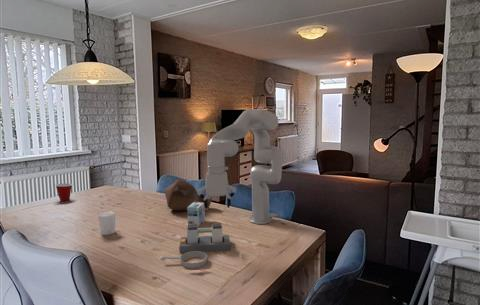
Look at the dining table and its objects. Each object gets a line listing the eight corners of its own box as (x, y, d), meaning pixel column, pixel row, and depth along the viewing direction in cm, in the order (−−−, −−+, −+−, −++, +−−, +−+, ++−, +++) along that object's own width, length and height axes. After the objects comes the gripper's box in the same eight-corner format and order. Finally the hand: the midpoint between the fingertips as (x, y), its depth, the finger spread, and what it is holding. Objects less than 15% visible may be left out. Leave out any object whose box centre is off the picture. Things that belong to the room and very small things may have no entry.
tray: (216, 232, 159) (216, 227, 159) (217, 240, 149) (216, 235, 148) (194, 233, 158) (194, 228, 158) (193, 241, 147) (193, 236, 147)
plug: (222, 243, 143) (221, 222, 141) (222, 248, 138) (222, 226, 137) (212, 244, 142) (211, 223, 141) (212, 248, 138) (211, 226, 136)
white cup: (119, 230, 163) (118, 212, 161) (108, 236, 155) (107, 217, 154) (107, 229, 165) (106, 211, 164) (96, 234, 158) (94, 215, 156)
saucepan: (206, 271, 120) (206, 262, 120) (159, 272, 119) (159, 263, 119) (208, 258, 131) (208, 249, 130) (165, 259, 130) (165, 250, 130)
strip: (229, 243, 146) (228, 233, 145) (230, 252, 136) (230, 242, 135) (181, 245, 143) (181, 236, 143) (179, 255, 134) (179, 245, 133)
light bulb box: (199, 227, 167) (198, 207, 166) (187, 226, 168) (186, 207, 167) (205, 220, 177) (204, 202, 176) (194, 219, 179) (193, 201, 177)
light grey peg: (198, 245, 141) (197, 223, 140) (197, 249, 137) (197, 227, 136) (188, 245, 141) (187, 224, 140) (187, 249, 136) (186, 228, 135)
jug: (158, 213, 190) (207, 222, 190) (161, 184, 184) (210, 193, 183) (168, 198, 210) (212, 206, 209) (171, 171, 203) (216, 179, 202)
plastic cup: (76, 200, 222) (75, 183, 221) (59, 203, 214) (58, 186, 213) (70, 197, 230) (69, 181, 228) (54, 200, 222) (52, 184, 220)
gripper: (235, 167, 141) (236, 204, 143) (196, 169, 139) (198, 206, 141) (236, 170, 133) (237, 209, 136) (196, 172, 131) (197, 211, 134)
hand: (217, 207), depth 138 cm, fingers open, 9 cm apart
